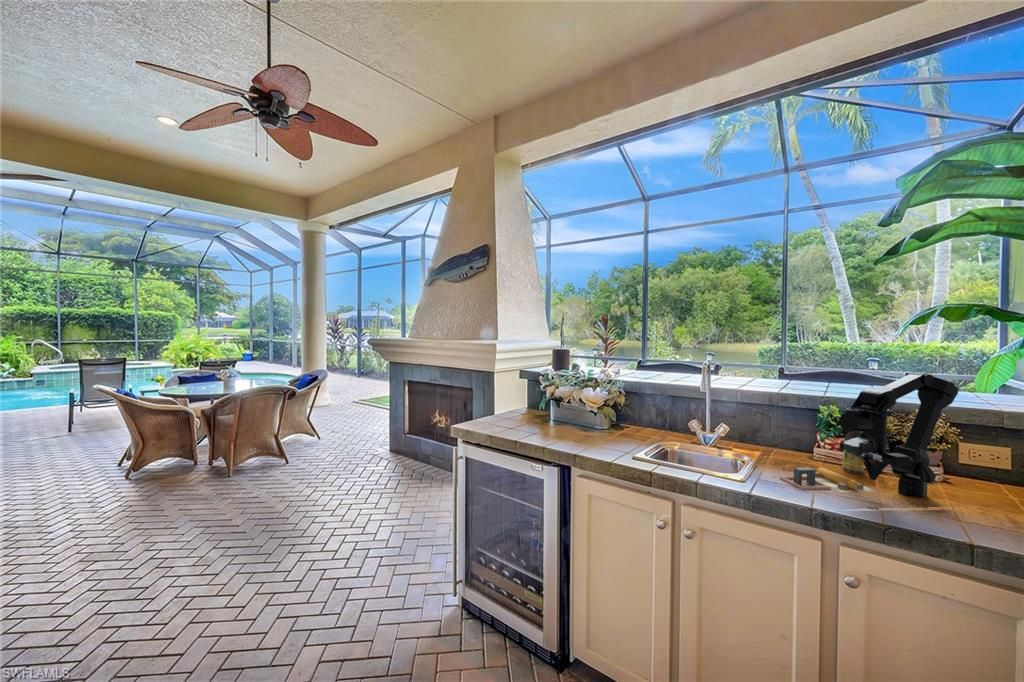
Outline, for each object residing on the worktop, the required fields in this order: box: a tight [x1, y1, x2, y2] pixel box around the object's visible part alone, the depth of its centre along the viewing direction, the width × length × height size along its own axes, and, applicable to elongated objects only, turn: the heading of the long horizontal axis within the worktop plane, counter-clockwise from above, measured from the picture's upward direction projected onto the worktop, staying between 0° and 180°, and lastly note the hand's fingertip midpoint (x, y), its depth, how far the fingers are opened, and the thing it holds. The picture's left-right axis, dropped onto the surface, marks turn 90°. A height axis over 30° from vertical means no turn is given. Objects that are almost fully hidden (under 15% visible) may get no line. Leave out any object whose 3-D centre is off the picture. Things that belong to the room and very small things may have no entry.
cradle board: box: [802, 471, 878, 493], centre depth 140 cm, size 17×13×2 cm
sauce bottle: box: [841, 431, 865, 474], centre depth 152 cm, size 7×6×20 cm
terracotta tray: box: [779, 475, 832, 491], centre depth 138 cm, size 10×10×2 cm
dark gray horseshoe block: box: [793, 467, 817, 486], centre depth 138 cm, size 6×2×5 cm, turn 94°
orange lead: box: [816, 467, 859, 489], centre depth 140 cm, size 15×3×3 cm, turn 4°
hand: (872, 479), depth 127 cm, fingers closed
